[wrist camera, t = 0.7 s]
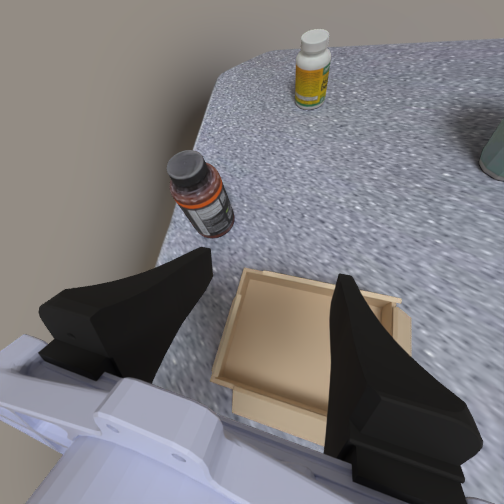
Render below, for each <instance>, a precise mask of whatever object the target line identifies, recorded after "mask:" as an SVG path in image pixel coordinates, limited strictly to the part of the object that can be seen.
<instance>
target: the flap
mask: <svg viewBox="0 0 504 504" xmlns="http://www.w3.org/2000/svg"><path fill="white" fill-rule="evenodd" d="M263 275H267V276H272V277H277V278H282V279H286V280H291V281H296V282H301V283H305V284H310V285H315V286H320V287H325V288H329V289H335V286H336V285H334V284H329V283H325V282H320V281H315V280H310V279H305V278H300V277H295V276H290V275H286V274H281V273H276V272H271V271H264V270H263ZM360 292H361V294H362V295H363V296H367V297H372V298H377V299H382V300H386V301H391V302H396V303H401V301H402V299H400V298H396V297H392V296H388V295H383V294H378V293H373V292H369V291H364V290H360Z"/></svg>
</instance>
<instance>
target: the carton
mask: <svg viewBox="0 0 504 504" xmlns="http://www.w3.org/2000/svg"><path fill="white" fill-rule="evenodd" d="M333 293H334V289H329V288H325V287H320V286H315V285H310V284H305V283H301V282H296V281H291V280H286V279H282V278H277V277H272V276H267V275H263V271H258V270H253V269H249V268H244V270H243V273H242V276H241V280H240V283H239V286H238V290H237V293H236V295H237V294H239V295H242V296H241V299H240V303H239V306H238V310H237V313H236V316H235V320H234V323H233V327H232V330H231V334H230V337H229V341H228V344H227V347H226V351H225V354H224V358H223V361H222V365H221V368H220V371H219V375H218V377H215V376H213V374H212V376H211V379H210V382H213V383H216V384H219V385H222V386H225V387H228V388H231V389H233V401H232V413H234V414H237V415H240V416H242V417H245V418H248V419H250V420H253V421H256V422H259V423H261V424H264V425H267V426H270V427H272V428H275V429H278V430H280V431H283V432H286V433H289V434H291V435H294V436H297V437H300V438H302V439H305V440H308V441H310V442H313V443H316V444H319V445H321V446H324V444H325V434H326V423H327V411H328V399H329V385H330V370H331V355H330V329H329V316H330V305H331V300H332V296H333ZM235 297H236V296H235ZM363 297H364V299H365V300H366V302H367V303H368V305H369V307H370V308H371V310H372V311H373V313H374V314H375V316H376V317H377V318H378V320H379V321H380V323H381V324H382V325H383V326H384V328H385V329H386V330H387V331H388V332H389V334H390V335H391V336H392V337H393V338H394V339H395V341H396V342H397V343H398V344H399V345H400V346H401V347H402V348H403V349H404V350H405V351H406V352H407V353H408V354H409V355H410V356H411V317H409V316H408V315H407V314H406V313H405V312H403V311H402V310H401V309H400V308H398V307H396V302H391V301H386V300H382V299H377V298H372V297H367V296H363Z"/></svg>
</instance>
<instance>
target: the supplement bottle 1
mask: <svg viewBox="0 0 504 504" xmlns="http://www.w3.org/2000/svg"><path fill="white" fill-rule="evenodd" d="M167 172H168V174H169V176H170V178H171V181H170V191H171V194H172V196H173V198H174V199H175V201H176V202H177V204H178V205H179V206H180V208H181V209H182V211H183V212H184V213H185V215H186V216H187V218H188V219H189V220H190V222H191V223H192V225H193V226H194V228H195V229H196V230H197V231H198V233H199V234H201V235H202V236H204V237H207V238H217V237H220V236H223V235H224V234H226V233H227V232H228V231H229V230H230V229H231V227H232V226H233V223H234V213H233V209H232V207H231V204H230V201H229V199H228V196H227V193H226V191H225V188H224V185H223V182H222V180H221V177H220V175H219V173H218V171H217V170H216V169H215V168H214V167H213V166H212V165H211V164H209V163H206V162H205V161H204V158H203V156H202V155H201V154H200V153H199V152H197V151H193V150H186V151H182V152H180V153H177V154H176V155H175V156H173V157H172V158H171V159H170V161H169V162H168V165H167Z"/></svg>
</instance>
